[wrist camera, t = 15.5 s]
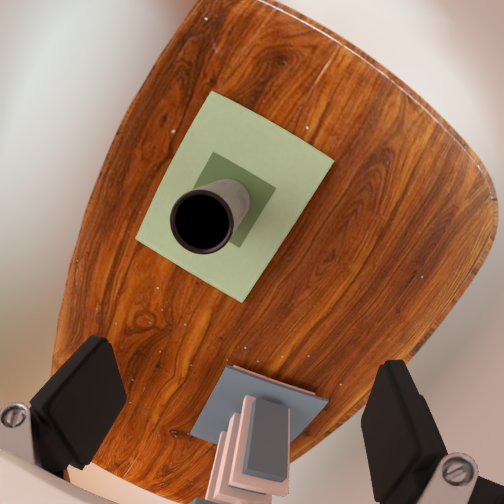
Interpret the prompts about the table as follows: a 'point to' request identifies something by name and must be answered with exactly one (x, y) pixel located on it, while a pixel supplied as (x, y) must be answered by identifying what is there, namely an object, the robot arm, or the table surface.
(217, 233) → the gray hollow cylinder
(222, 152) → the mat
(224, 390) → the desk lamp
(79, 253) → the table surface
